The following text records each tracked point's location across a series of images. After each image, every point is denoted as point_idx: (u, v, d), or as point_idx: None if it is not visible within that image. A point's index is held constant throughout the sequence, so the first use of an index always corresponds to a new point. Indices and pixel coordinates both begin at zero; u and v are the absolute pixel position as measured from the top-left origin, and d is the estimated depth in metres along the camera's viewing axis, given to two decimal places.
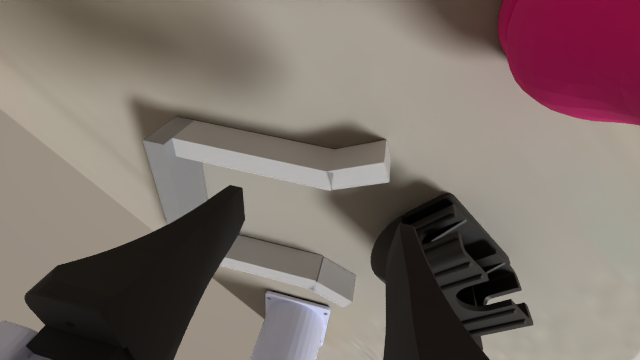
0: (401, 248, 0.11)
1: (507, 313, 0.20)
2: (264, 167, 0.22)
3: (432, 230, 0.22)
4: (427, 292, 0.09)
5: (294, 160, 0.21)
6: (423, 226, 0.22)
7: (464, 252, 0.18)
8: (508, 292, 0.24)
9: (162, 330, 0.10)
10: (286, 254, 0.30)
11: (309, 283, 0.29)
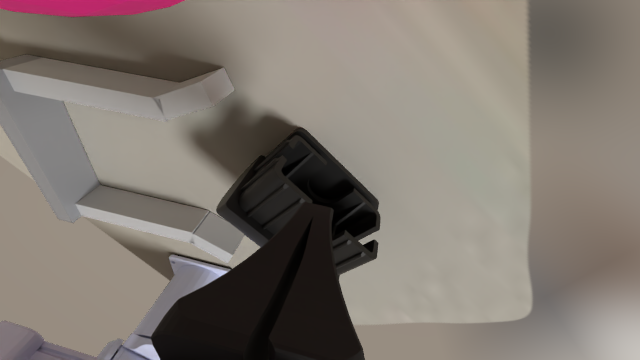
0: (310, 227, 0.12)
1: (342, 245, 0.19)
2: (97, 97, 0.21)
3: None
4: (318, 265, 0.10)
5: (125, 89, 0.20)
6: (267, 160, 0.21)
7: (278, 173, 0.17)
8: (368, 233, 0.23)
9: None
10: (170, 208, 0.29)
11: (187, 235, 0.28)
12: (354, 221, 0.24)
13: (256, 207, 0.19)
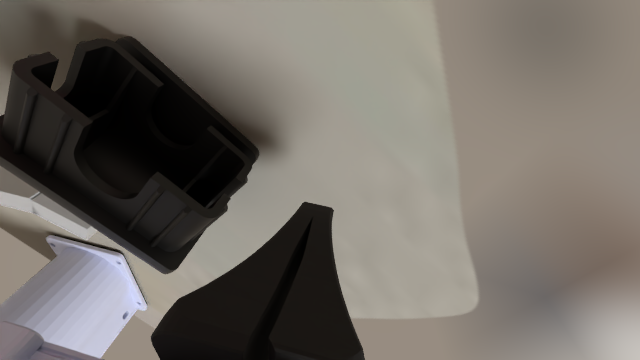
0: (310, 227, 0.12)
1: (153, 195, 0.13)
2: None
3: (72, 79, 0.14)
4: (318, 265, 0.10)
5: None
6: None
7: (19, 70, 0.11)
8: (230, 189, 0.16)
9: None
10: None
11: (26, 203, 0.21)
12: (222, 176, 0.17)
13: (17, 136, 0.12)
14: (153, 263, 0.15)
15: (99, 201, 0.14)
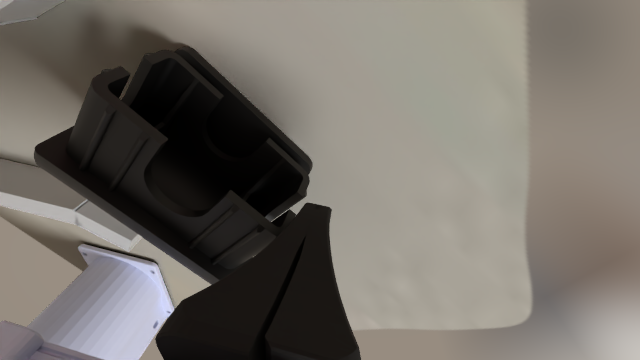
0: None
1: (225, 214, 0.12)
2: None
3: (134, 92, 0.14)
4: (315, 264, 0.10)
5: None
6: None
7: (97, 87, 0.10)
8: (289, 203, 0.15)
9: None
10: (55, 180, 0.22)
11: (69, 214, 0.21)
12: (276, 189, 0.17)
13: (85, 153, 0.12)
14: (214, 281, 0.14)
15: (163, 218, 0.13)
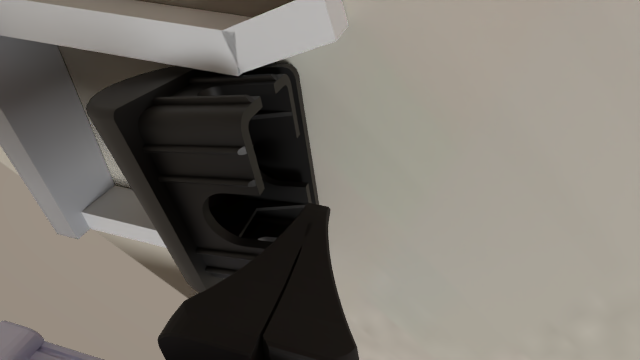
0: None
1: None
2: (121, 36, 0.12)
3: (231, 91, 0.12)
4: (314, 264, 0.10)
5: (170, 19, 0.12)
6: (223, 80, 0.13)
7: (243, 124, 0.10)
8: None
9: None
10: None
11: None
12: (279, 216, 0.18)
13: (168, 147, 0.11)
14: (197, 284, 0.15)
15: (191, 222, 0.13)
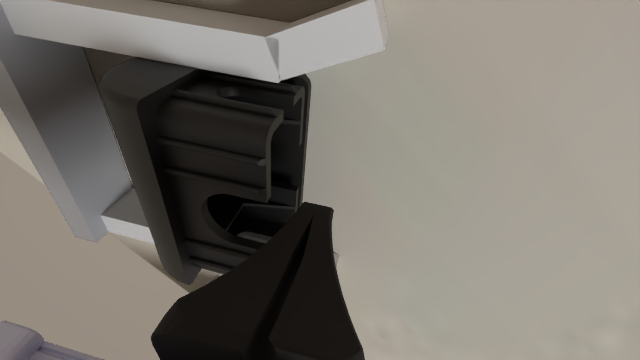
0: (310, 227, 0.12)
1: None
2: (159, 40, 0.12)
3: (249, 94, 0.12)
4: (318, 265, 0.10)
5: (210, 24, 0.12)
6: (241, 81, 0.13)
7: (268, 138, 0.10)
8: None
9: None
10: None
11: None
12: (263, 212, 0.18)
13: (185, 144, 0.11)
14: (177, 272, 0.15)
15: (186, 214, 0.13)
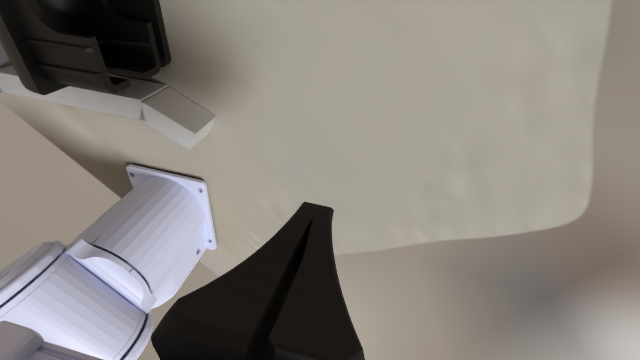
0: (310, 227, 0.12)
1: (79, 47, 0.16)
2: None
3: None
4: (318, 265, 0.10)
5: None
6: None
7: None
8: (131, 74, 0.20)
9: None
10: None
11: (135, 106, 0.21)
12: (129, 56, 0.20)
13: None
14: (26, 78, 0.17)
15: (14, 3, 0.15)
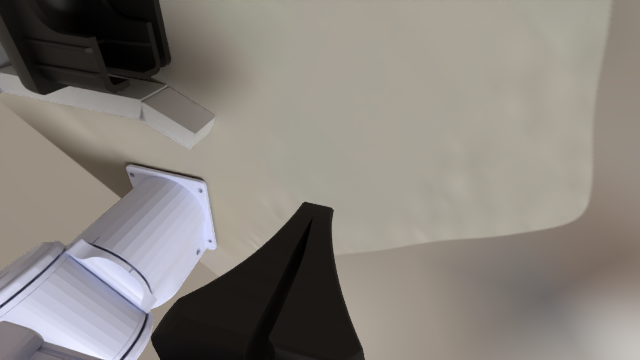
0: (310, 227, 0.12)
1: (79, 47, 0.16)
2: None
3: None
4: (318, 265, 0.10)
5: None
6: None
7: None
8: (131, 74, 0.20)
9: None
10: None
11: (135, 106, 0.21)
12: (128, 56, 0.20)
13: None
14: (26, 78, 0.17)
15: (14, 3, 0.15)
